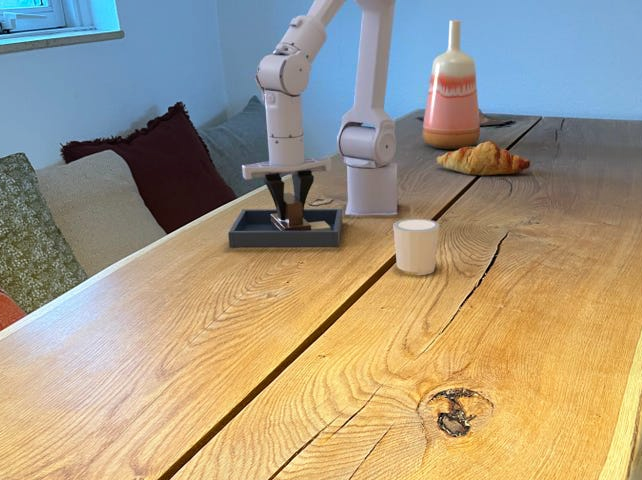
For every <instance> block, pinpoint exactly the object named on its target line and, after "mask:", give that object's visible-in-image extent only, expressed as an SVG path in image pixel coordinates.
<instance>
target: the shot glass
mask: <svg viewBox="0 0 642 480" xmlns="http://www.w3.org/2000/svg"><path fill="white" fill-rule="evenodd" d="M392 228H393V229H392V230H393V238H394V250H395V259H396V261H395V262H396V267H397V269H399V270H401V271H403V272H407V273H416V274H412V276H415V277H416V276H417V277H418V276H427V275H430V274H432V273H434V272H435V267H436V260H437V259H436V258H437V249H438V243H439V241H438V240H439V234H440V223H438V222H437V221H435V220H432V219H427V218H405V219H401V220H398V221H395V222H394V223H393V225H392Z"/></svg>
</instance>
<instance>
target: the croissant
mask: <svg viewBox="0 0 642 480" xmlns="http://www.w3.org/2000/svg"><path fill="white" fill-rule="evenodd" d="M436 163H437V164H438V165H439V166H440V167H441V168H444V169H447V170H449V171H454V172H457V173H461V174H465V175H472V176H473V175H474V176H475V175H476V176H492V175H495V176H496V175H513V174H518V173H521V172H523V171H525V170H527V169H529V168H530V167H531V160H530V159H528V158H523V157H521V156H520V155H517V154H512V153H510V152H509V151H508V150H507V149H504V148H500V147H499V146H498V144H496V143H495V142H493V141H490V140H489V141H484V142H480V143H479V144H478V145H476V146H470V147H463V148H461V149H456V150H453V151H448V152H446V153H445V154H443V155H439V156H438V157H437V158H436Z"/></svg>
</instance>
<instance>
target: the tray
mask: <svg viewBox="0 0 642 480" xmlns="http://www.w3.org/2000/svg"><path fill="white" fill-rule="evenodd" d="M276 213H277V210H276V208H272V209H271V208H265V209H263V208H261V209H260V208H257V209H256V208H255V209H253V208H252V209H247V208H245V209H243V208H242V209H241V210H240V212H239V214H238V216H237V217H236V219H235V220H234V222H233V224H232V225H231V227H230V228H229V230H228V232H227V234H228V244H229V245H228V246H229V249H231V248H232V249H234V248H235V249H236V248H238V249H239V248H241V249H243V248H244V249H246V248H248V249H249V248H251V249H252V248H255V249H257V248H260V249H261V248H262V249H264V248H339V247H340V240H341V235H342V229H343V223H344V222H343V220H344V219H343V208H304V211H303V218H304V219H305V220H306V221H307V222H308V223H310V222H320V221H325V222H326V223H327V224H328V225H329V226H330V227H331V231H274V230H273V229H272V226H271V214H276Z"/></svg>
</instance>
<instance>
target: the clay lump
mask: <svg viewBox="0 0 642 480" xmlns="http://www.w3.org/2000/svg"><path fill="white" fill-rule="evenodd" d="M309 224H310V225H311V231H331V227H330V226H329V225H328V224H327V223H326V222H325V221H320V222H310V223H309Z"/></svg>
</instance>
